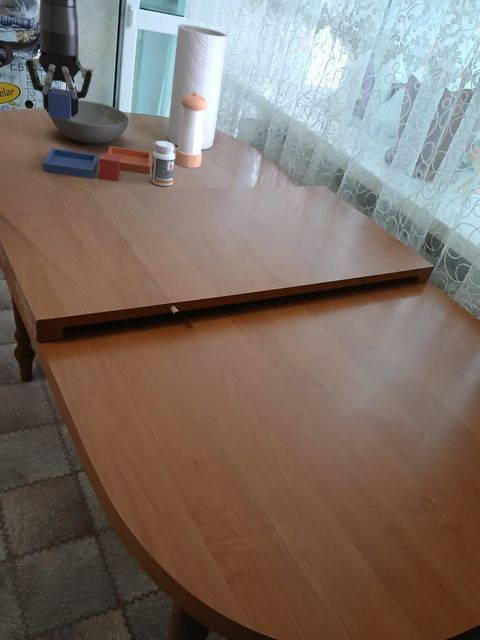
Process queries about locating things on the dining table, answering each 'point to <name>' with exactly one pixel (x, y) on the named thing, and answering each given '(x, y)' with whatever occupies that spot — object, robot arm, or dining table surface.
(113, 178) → the red block
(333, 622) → the dining table surface
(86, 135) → the bowl
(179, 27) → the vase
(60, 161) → the blue tray
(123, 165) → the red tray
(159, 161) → the pill bottle
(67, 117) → the blue block
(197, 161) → the salt shaker
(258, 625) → the dining table surface
